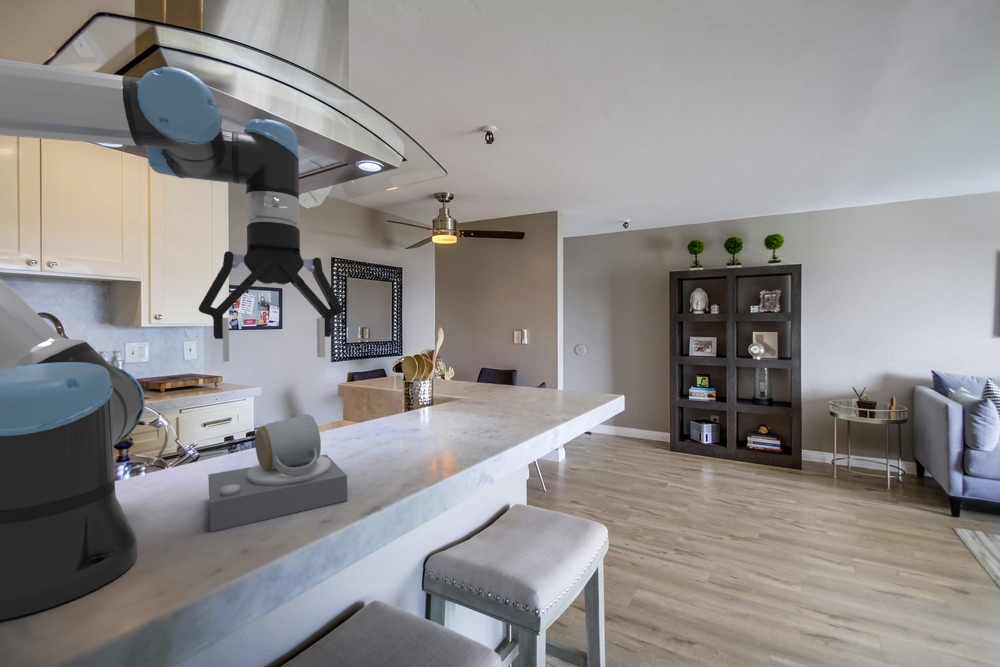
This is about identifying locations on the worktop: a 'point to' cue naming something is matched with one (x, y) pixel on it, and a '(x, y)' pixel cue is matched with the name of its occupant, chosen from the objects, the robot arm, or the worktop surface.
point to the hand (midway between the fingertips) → (276, 359)
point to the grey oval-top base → (272, 493)
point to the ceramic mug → (289, 445)
